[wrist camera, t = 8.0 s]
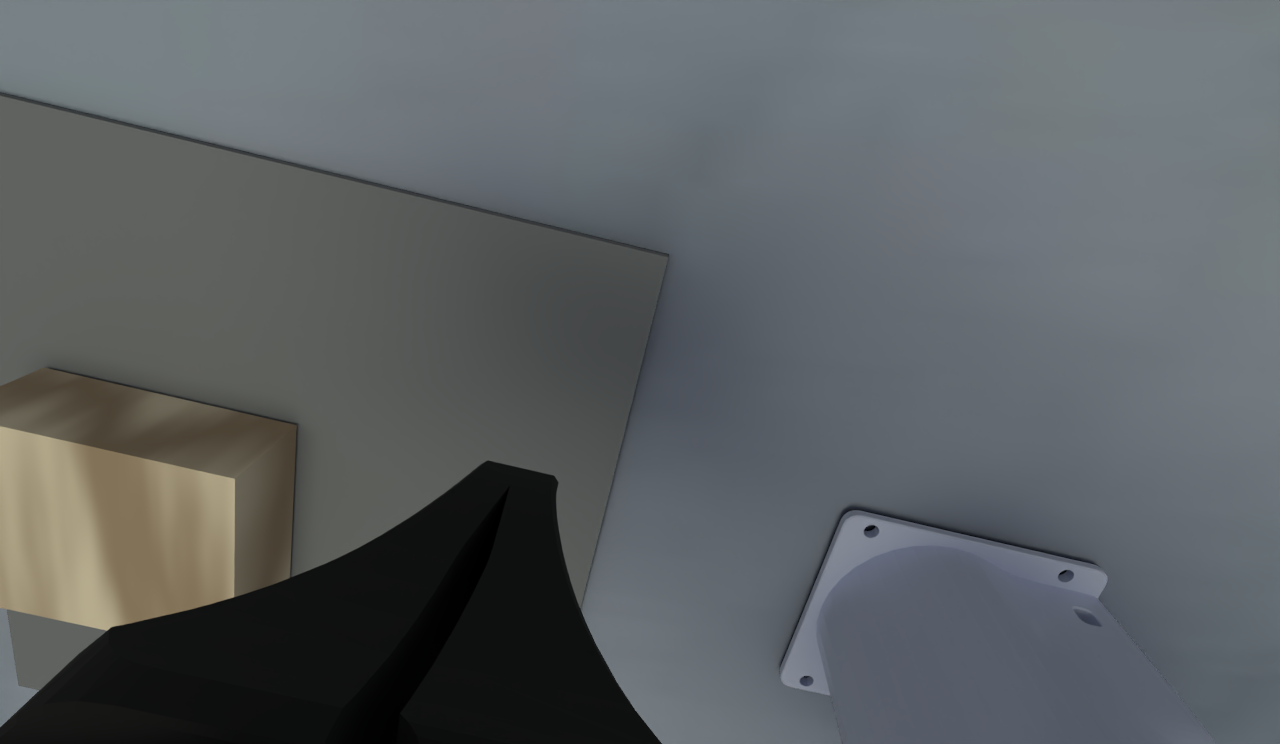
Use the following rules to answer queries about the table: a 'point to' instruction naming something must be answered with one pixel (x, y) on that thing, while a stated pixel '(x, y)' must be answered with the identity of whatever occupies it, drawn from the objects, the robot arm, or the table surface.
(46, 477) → the beech block
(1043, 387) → the table surface
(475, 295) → the rubber mat
